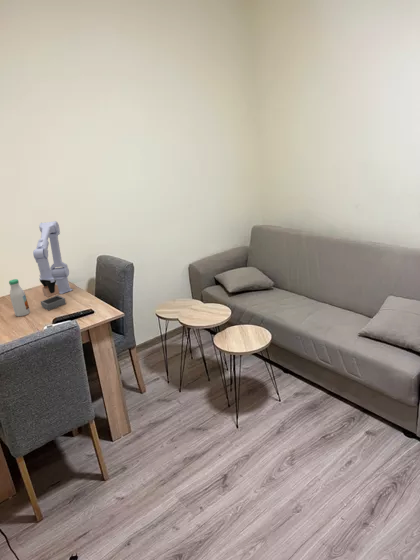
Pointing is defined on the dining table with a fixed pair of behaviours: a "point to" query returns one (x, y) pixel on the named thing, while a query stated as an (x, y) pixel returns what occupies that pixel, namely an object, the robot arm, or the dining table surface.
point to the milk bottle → (18, 299)
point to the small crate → (47, 292)
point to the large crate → (53, 302)
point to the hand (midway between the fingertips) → (50, 291)
